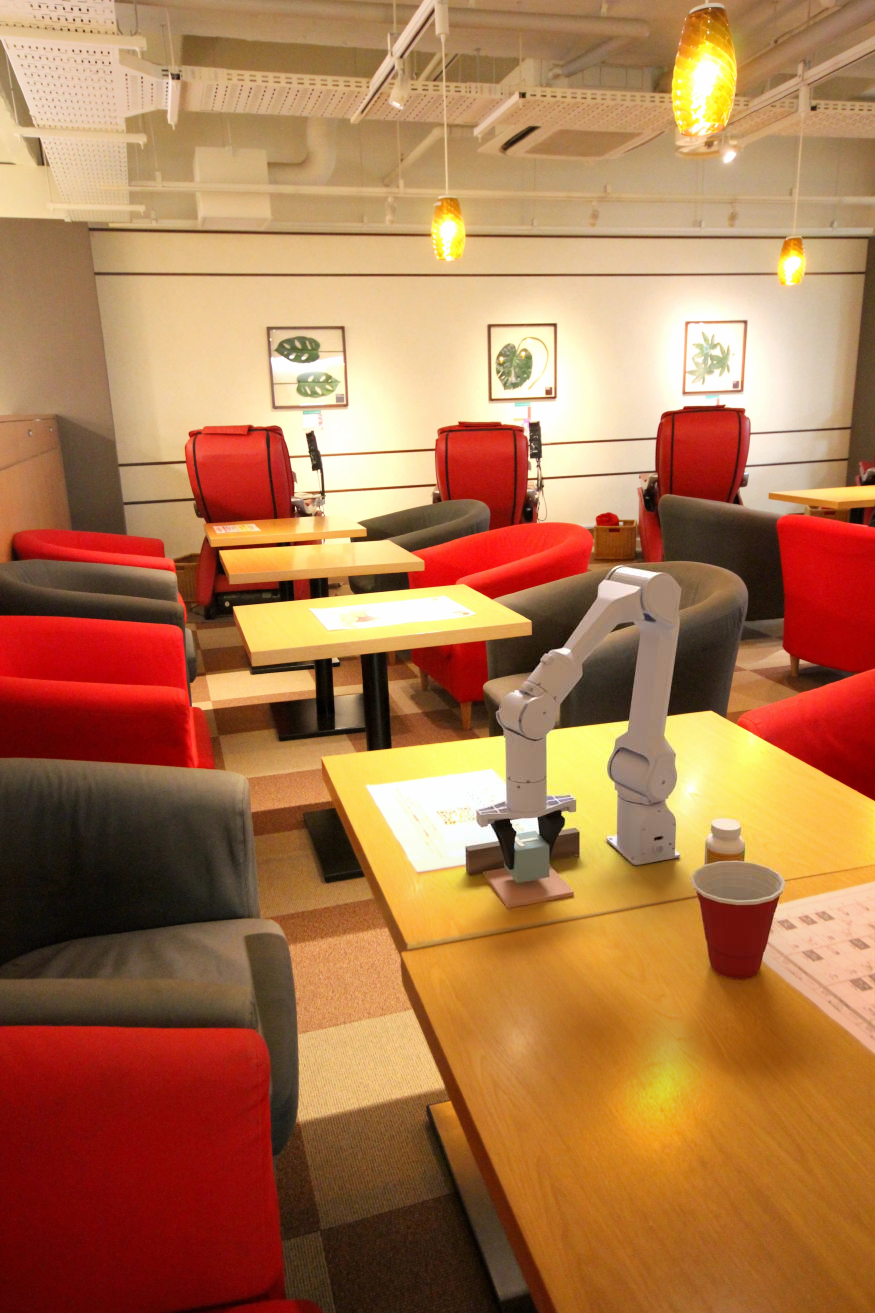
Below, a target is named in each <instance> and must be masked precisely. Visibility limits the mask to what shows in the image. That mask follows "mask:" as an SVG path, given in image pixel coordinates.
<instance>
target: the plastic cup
mask: <svg viewBox="0 0 875 1313" xmlns="http://www.w3.org/2000/svg"><path fill="white" fill-rule="evenodd" d="M689 879H690V882H691V885H692V888H693V890H694V891H695V892H696V894H697V897H698V901H699V907H700V913H701V918H702V925H703V931H704V937H705V941H706V948H707V955H708V960H709V963H710V966H711V969H712V970H714V972H716V974H719V975H721V976H722V977H725V978H727V979H731V980H748V979H753V978H754V977H755V976H757V975H758V973H759V971H760V968H761V966H762V961H763V957H764V953H765V952H766V950H767V949H766V948H767V946H768V941H769V938H770V934H771V930H772V925H773V922H774V921H773V920H774V917H775V913H776V910H777V906H778V903H779V900H780V897H781V895H782V894H783V892H784V889H785V886H786V884H787V882H786V880H785V879H784V877H783V876H782V874H781V873H780V872H778V871H776V870H774V868H771V867H769V866H766V865H763V864H759V863H756V862H749V861H745V860H744V861H719V862H715V863H710V864H706V865H704V864H703V865H702V866H700V867H698V868H696V869H695V870H693V872H692V874H691V875H690V878H689Z"/></svg>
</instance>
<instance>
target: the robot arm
mask: <svg viewBox="0 0 875 1313" xmlns="http://www.w3.org/2000/svg"><path fill="white" fill-rule="evenodd" d="M682 590H683V589H682V587H681V586H680V585H679V583H678V582H677V580H675V579H674V578H673V576H672V575H671V574H669V573H667V572H655V571H649V570H645V569H639V568H634V567H629V566H627V565H617V566H615V567H613V568H612V569H611V570H609V571H608V573H607V574H606V576H605V578H604V579H603V580H602V581H601V582H600V583H599V584H598V586H597V597H596V599H595V601H594V602H593V603H592V605H591V606H590V608H589V609H588V610H587V612H586V614H585V615H584V616H583V618H582V620H580V622H579V624H578V626H576V628H575V630H574V631H573V632H572V634H571V635H570V637H569V638H568V640H566V642H565V644H564V646H563V647H561V648H557V649H551V650H549V651H548V653H544V654H543V655H542V657H541V658H540V662H539V664H538V665H537V666H536V667H535V669H534V670H533V671H532V673H530V675H529V677H527V679H526V680H525V681H524V682H522V684H521V685H520V687H519V689H518V690H517V689H516V690H514V691H511V692H509V693H508V694H506V695H505V696H504V697H503V698H502V699H501V702H500V704H499V708H498V710H497V711H495V716H496V721H497V723H498V724H499V725H500V727H501V728H502V730H503V738H505V740H504V741H505V742H504V743H505V744H504V745H505V784H506V785H505V787H506V788H505V794H506V795H505V796H506V798H505V799H506V800H503V801H500V802H497V803H495V804H492V805H489V806H487V807H482V808H476V809H475V812H476V816H475V817H476V823H477V824H478V826H479V827H480V828H486V827H488V826H489V825H490V826H491V828H492V831H493V832H494V834H495V836H496V838H497V841H499V844H500V846H501V849H502V853H503V857H504V862H505V865H506V866H507V867H508V869H509V870H512V869H514V845H515V837H516V834H518V833H517V831H516V830H515V828H514V827H513V822H511V821H515V820H520V819H522V820H523V819H536V818H537V825H538V834H539V835H540V836H541V837H542V838H543V839H544V840H545V841H546V842H547V843H548V844H549V863H550V857H551V853H552V850H553V847H554V844H555V841H556V839H557V837H558V835H559V833H560V832H561V830H563V828H564V827H565V824H566V817H564V815H563V813H564V812H568V813H576V812H577V799H576V798H575V797H574V796H573V795H572V794H562V795H561V794H560V795H547V794H548V789H547V788H548V786H547V785H548V783H547V782H548V780H547V779H548V775H547V774H548V771H547V769H548V767H547V762H548V759H547V755H548V754H547V750H548V749H547V736H548V735H549V733H550V732H551V731H553V729H554V727H555V724H556V721H557V714H558V712H559V711H560V707H561V704H562V703H563V701H564V700H565V699H566V697H567V696H568V695H569V694H570V692H572V690H573V688H574V687H575V686H576V684H577V683H578V682H579V681H580V679H582V676H583V662H584V661H585V660H586V659H587V658H588V657H589V656H590V655H591V654H592V652H593V651H595V649H597V647H598V646H599V645H600V644H601V643H602V642H603V641H604V640H605V639H606V638H607V637H608V635H609V634H610V633H611V632H612V631H613V630H614V629H615V628H616V627H617V625H620V624H625V623H634V625H635V626H636V627H637V628H638V629H639V630H640V636H639V643H638V650H637V659H636V664H635V673H634V674H635V675H634V679H633V681H634V682H633V687H632V696H631V703H630V711H629V718H628V724H627V731H626V732H624V733H622V734H621V735H620V736H618V737H617V738H616V739H615V741H614V747H613V751H612V753H611V754H610V756H609V757H608V761H607V764H606V765H607V766H606V770H607V776H608V778H609V779H610V780H611V781H612V782H613V783H614V790H615V791H617V799H616V802H617V804H616V834H615V835H608V836H606V837H605V841H607V842H608V843H609V844H610V845H611V846H612V847H613V848H614V849H616V851H618V852H619V853H620V854H621V855H622V856H623V857H624V858H625V859H626V860H627V861H629V862H630V863H631V864H632V865H633V866H639V865H645V864H650V863H654V862H660V861H666V860H672V859H676V858H680V857H681V853H680V852H679V851H677V850H676V840H677V839H676V837H677V835H676V831H677V821H676V817H675V815H674V813H673V812H672V810H670V808H669V807H668V804H667V802H666V800H668V799H669V797H670V795H671V794H672V793H673V792H674V790H675V788H676V786H677V780H678V772H677V767H676V757H677V753H676V751H675V750H674V749H673V747H672V745H671V744H670V743H669V741H668V739H667V738H666V737H665V732H666V723H667V718H668V711H669V710H668V709H669V704H670V697H671V689H672V688H671V687H672V683H673V677H674V676H673V675H674V667H675V662H676V661H675V660H676V653H677V647H678V640H679V633H680V626H681V618H680V612H679V610H680V604H681V603H680V602H681V598H682V597H681V596H682Z"/></svg>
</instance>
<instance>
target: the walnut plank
mask: <svg viewBox="0 0 875 1313" xmlns="http://www.w3.org/2000/svg"><path fill="white" fill-rule="evenodd" d="M580 837H581V835H580V831H579V829H577V827H571V828H567V829H562V830H561V832H560V833H559V835H558V837H557V839H556V841H555V844H554V847H553V850H552V853H551V857H550V861H556V860H561V859H567V858H573V857H578V856H579V857H580V855H581V854H580V853H581V852H580V849H581V848H580V847H581V846H580V841H581V840H580V839H581V838H580ZM501 868H505V867H504V857H503V853H502V849H501V846H500V844H499V841H498V840H494V841H489V842H484V843H479V844H472V845H466V846H465V870H466V873H467V874H468V875H469V876H472V875H478V874H484V871H490V870H495V869H501Z"/></svg>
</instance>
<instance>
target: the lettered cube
mask: <svg viewBox="0 0 875 1313" xmlns="http://www.w3.org/2000/svg"><path fill="white" fill-rule="evenodd" d="M549 865H550V862H549V844H548V843H547V842H546V841H545V840H544V839H543V838H542V837H541V836H540V835H539V832H537V830H531V831H525V832H519V833H516V837H515V845H514V869H512V870H509V869H508V867H507V866H506V865H505V862H504V867H505V869H506V870H507V871H508V872H509V874H510V875H511V876H512V878H513V879H514V880H515V881H516V883H520V882H525V881H531V880H536V879H541V878H547V877H549Z"/></svg>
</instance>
